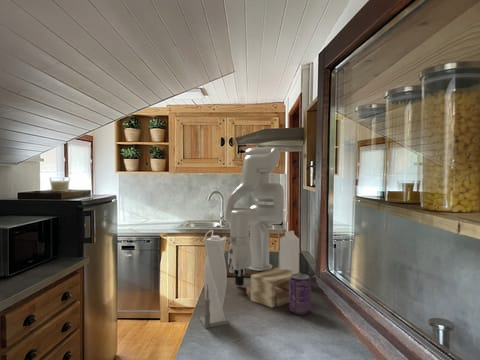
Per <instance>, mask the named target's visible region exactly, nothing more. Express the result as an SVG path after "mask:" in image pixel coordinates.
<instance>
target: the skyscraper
mask: <svg viewBox="0 0 480 360" xmlns="http://www.w3.org/2000/svg"><path fill="white" fill-rule="evenodd" d="M210 232H211V235H210V237H209V238H207V235H208V234H209V233H210ZM227 240H228V237H227V236H226V235H224V236H222V237H220V235H214V230H213V229H210V230H208V231H207V232H206V233H205V235H204V238H203V242H204V247H205V253H206V257H205V261H204V263H205V264H204V272H203V273H204V275H203V276H204V277H203V278H204V282H203V283H204V296H205V298H204V303H205V304H204V307H205V308H204V309H205V310H204V316H203V317H201V316H200V317H199V318H198V319H199V321H200V322H201V324H202V325H203V327H204V328H205V329H208V328H213V327H214V328H215V327H221V326H227V325H228V322H227V321H226V317H225V314H224V311H223V308H224V307H223V306H224V301H225V296H226V290H227V279H228V278H227V277H228V275H227V265H226V259H225V255H224V252H225V247H226V244H227Z"/></svg>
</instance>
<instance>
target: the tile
mask: <svg viewBox="0 0 480 360" xmlns="http://www.w3.org/2000/svg"><path fill="white" fill-rule="evenodd" d="M248 292H251V285H250V286H246V295H248ZM281 292H284V291H283V290H280V289H276V288H275V299H276V294H279V293H281Z"/></svg>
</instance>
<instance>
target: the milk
mask: <svg viewBox="0 0 480 360" xmlns="http://www.w3.org/2000/svg"><path fill="white" fill-rule="evenodd" d="M279 268H282V269H286V270H291V271H295V272H299V273H300V238H299V237H298V236H297V235H295V231H294V230H288V231H285V233H284V235H283V236H281V237H280V238H279Z"/></svg>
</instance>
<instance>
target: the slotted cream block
mask: <svg viewBox="0 0 480 360" xmlns="http://www.w3.org/2000/svg"><path fill="white" fill-rule="evenodd" d="M292 274H301V272H300V271H299V272H295V271H291V270H286V269H282V268H280V267H273V268H272V269H270V270H265V271H261V272H260V271H259V272H258V273H253V274H250V286H251V292H248V294H247V299H250V301H251V302H253V303H258V304H259V305H262V306H266V307H269V308H274V307H276V308H278V307H279V308H280V307H281V306H284V305H286V304H289V285H290V279H291V275H292ZM275 288H276V289H280V290H283V291H284V292H281V293H279V294H276V299H275Z"/></svg>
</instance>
